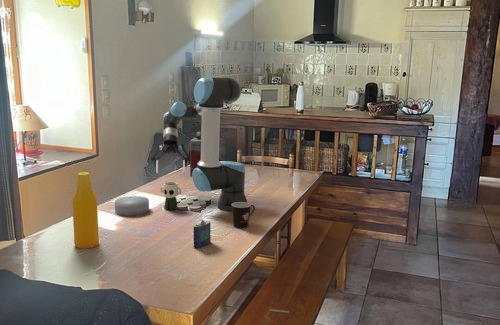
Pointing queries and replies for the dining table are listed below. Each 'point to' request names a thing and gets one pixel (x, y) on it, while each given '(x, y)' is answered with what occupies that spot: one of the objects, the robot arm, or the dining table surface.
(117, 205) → the plinth
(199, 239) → the flask
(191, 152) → the glass decanter
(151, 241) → the dining table surface
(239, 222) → the coffee mug
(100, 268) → the dining table surface
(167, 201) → the character mug
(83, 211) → the beer bottle
